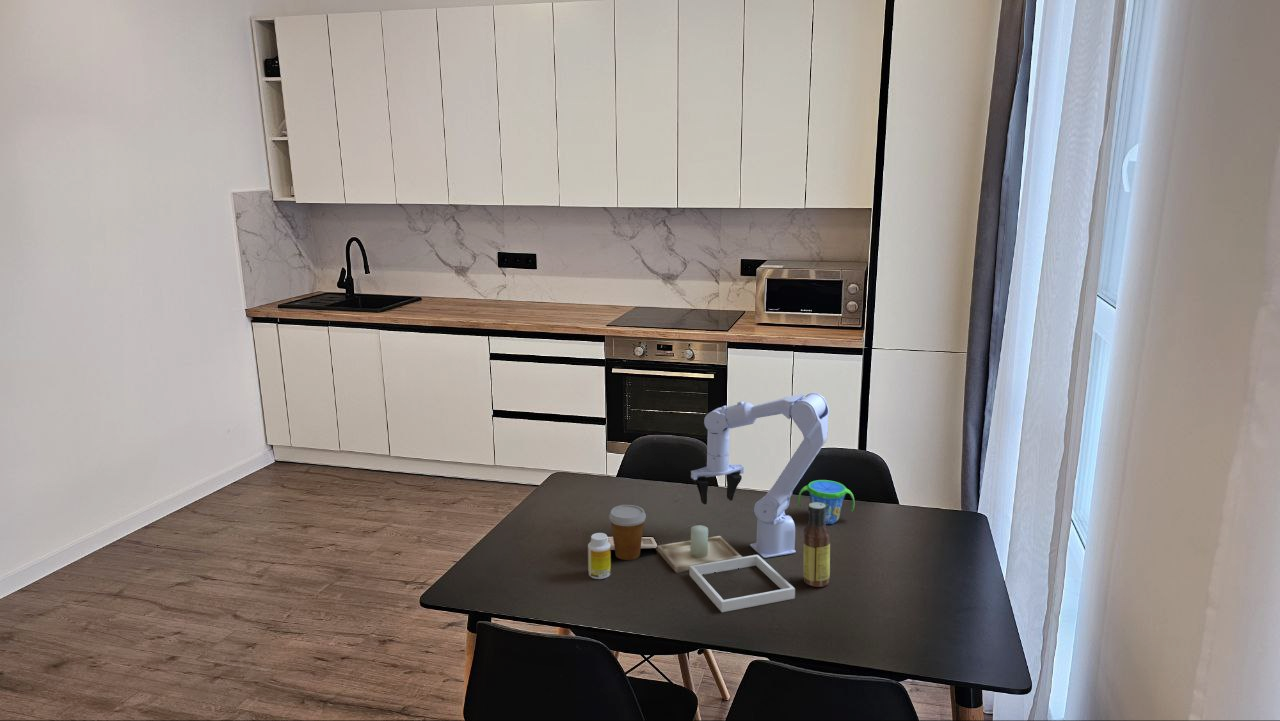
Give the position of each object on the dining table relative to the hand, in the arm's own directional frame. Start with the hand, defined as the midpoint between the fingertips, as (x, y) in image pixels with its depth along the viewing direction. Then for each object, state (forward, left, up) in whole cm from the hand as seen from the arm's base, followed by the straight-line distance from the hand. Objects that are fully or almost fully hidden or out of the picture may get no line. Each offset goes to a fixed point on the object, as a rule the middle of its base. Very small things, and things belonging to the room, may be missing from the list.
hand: (716, 501), depth 223 cm
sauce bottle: (-12, +31, -11) cm, 35 cm away
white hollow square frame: (+6, +27, -10) cm, 30 cm away
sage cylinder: (+9, +9, -10) cm, 16 cm away
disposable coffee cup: (+26, +2, -11) cm, 28 cm away
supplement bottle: (+36, +10, -11) cm, 39 cm away
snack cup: (-34, 0, -11) cm, 36 cm away
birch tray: (+9, +9, -10) cm, 16 cm away
